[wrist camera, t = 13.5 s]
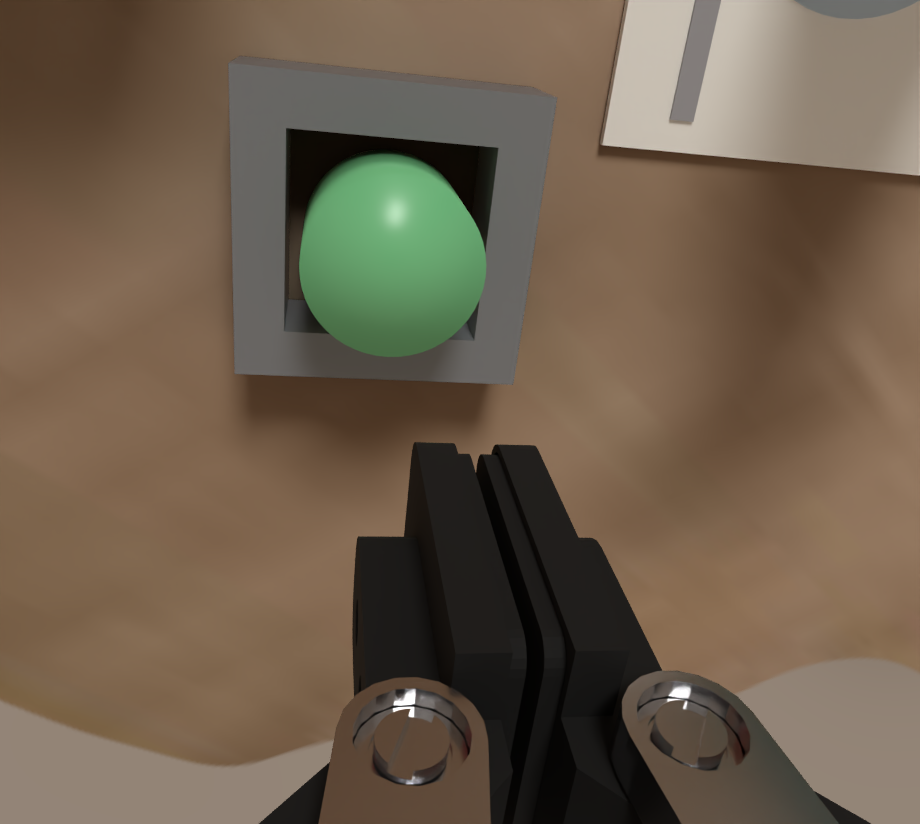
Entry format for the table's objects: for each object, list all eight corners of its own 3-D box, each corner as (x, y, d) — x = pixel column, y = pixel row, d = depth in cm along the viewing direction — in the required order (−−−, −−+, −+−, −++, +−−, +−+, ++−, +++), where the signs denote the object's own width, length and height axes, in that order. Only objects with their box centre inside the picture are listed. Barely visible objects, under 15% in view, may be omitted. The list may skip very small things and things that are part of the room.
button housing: (244, 338, 27) (234, 374, 25) (239, 55, 23) (228, 62, 21) (496, 349, 29) (513, 384, 26) (533, 87, 25) (557, 97, 22)
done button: (302, 304, 25) (297, 352, 22) (305, 141, 23) (300, 167, 20) (455, 312, 26) (474, 360, 23) (473, 157, 24) (497, 183, 21)
